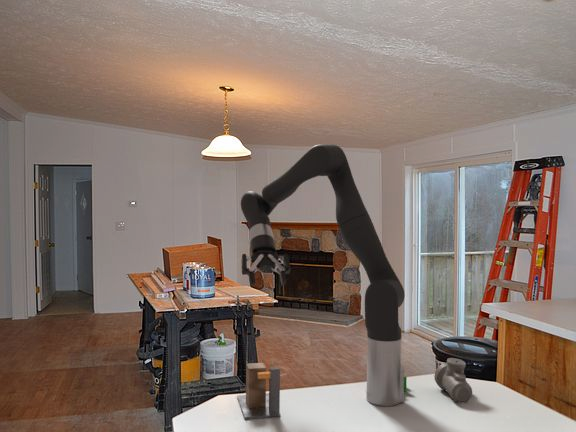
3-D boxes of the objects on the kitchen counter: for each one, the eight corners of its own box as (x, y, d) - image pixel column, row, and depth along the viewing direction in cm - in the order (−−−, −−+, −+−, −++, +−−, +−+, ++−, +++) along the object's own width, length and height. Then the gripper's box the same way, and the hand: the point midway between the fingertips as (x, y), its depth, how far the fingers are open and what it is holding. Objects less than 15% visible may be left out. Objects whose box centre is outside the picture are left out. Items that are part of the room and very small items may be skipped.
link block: (262, 399, 134) (262, 362, 134) (265, 406, 130) (266, 367, 130) (245, 401, 133) (246, 363, 133) (248, 407, 129) (249, 368, 129)
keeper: (269, 395, 139) (269, 352, 139) (280, 416, 125) (281, 368, 125) (237, 397, 137) (237, 354, 137) (244, 419, 123) (245, 371, 123)
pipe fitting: (431, 386, 147) (436, 353, 146) (459, 388, 147) (463, 355, 146) (445, 406, 135) (450, 370, 134) (474, 409, 135) (480, 373, 134)
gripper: (240, 233, 149) (245, 276, 138) (286, 233, 152) (295, 275, 141) (237, 249, 154) (242, 292, 143) (282, 249, 158) (290, 291, 146)
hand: (268, 284), depth 142 cm, fingers open, 8 cm apart
